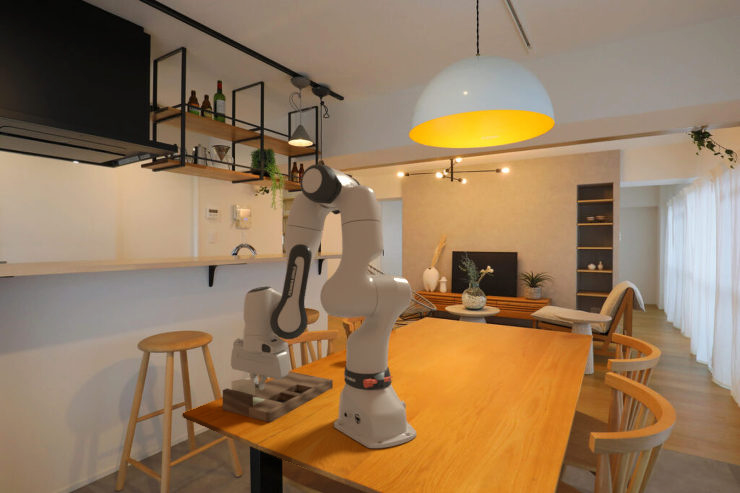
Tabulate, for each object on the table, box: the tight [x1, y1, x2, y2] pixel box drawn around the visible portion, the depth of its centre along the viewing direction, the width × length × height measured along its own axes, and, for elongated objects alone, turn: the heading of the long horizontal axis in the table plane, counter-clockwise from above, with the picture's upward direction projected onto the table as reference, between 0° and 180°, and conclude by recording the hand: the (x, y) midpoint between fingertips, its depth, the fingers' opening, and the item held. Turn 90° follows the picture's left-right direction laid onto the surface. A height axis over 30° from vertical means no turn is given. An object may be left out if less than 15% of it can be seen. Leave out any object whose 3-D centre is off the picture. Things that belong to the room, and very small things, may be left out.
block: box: [231, 377, 255, 396], centre depth 121 cm, size 5×5×4 cm
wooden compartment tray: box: [222, 371, 334, 423], centre depth 126 cm, size 30×18×6 cm, turn 152°
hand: (258, 388), depth 122 cm, fingers closed
